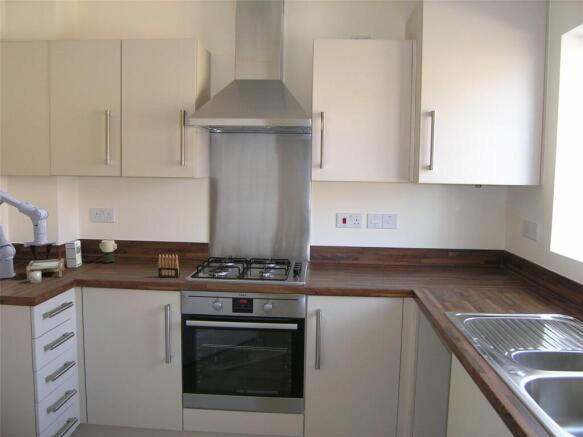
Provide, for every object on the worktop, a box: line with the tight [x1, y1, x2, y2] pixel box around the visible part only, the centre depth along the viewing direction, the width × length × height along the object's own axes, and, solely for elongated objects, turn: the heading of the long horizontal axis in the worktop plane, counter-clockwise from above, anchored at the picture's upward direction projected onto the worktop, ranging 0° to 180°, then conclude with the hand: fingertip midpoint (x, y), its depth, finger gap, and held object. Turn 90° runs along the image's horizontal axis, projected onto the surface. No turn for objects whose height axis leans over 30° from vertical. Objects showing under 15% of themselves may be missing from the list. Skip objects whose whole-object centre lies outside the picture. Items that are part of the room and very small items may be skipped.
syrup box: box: [64, 239, 83, 268], centre depth 243 cm, size 6×6×14 cm
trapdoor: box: [30, 258, 60, 270], centre depth 224 cm, size 13×12×2 cm
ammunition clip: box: [158, 253, 181, 279], centre depth 219 cm, size 11×2×12 cm, turn 84°
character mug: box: [99, 239, 118, 264], centre depth 253 cm, size 11×7×13 cm, turn 79°
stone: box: [29, 271, 42, 284], centre depth 211 cm, size 5×5×5 cm
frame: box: [25, 257, 65, 281], centre depth 224 cm, size 15×16×7 cm
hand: (42, 259), depth 218 cm, fingers open, 4 cm apart
